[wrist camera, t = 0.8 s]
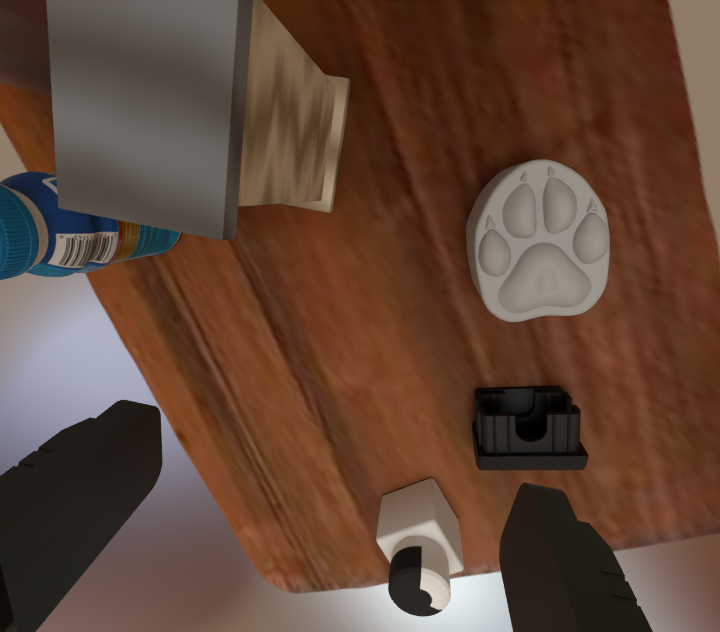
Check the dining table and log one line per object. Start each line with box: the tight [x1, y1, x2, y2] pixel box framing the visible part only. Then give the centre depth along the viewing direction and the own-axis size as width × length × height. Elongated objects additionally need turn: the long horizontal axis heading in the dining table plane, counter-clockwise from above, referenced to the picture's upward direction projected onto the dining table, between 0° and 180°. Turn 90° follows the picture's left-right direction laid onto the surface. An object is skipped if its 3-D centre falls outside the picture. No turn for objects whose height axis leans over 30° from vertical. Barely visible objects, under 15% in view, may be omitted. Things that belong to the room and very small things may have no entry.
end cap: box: [472, 386, 588, 470], centre depth 42 cm, size 10×7×7 cm
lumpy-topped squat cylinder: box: [466, 159, 610, 322], centre depth 36 cm, size 10×13×9 cm
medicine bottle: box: [376, 478, 464, 616], centre depth 45 cm, size 7×7×12 cm
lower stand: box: [46, 0, 351, 241], centre depth 30 cm, size 13×10×23 cm
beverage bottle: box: [0, 172, 181, 280], centre depth 36 cm, size 8×8×20 cm
